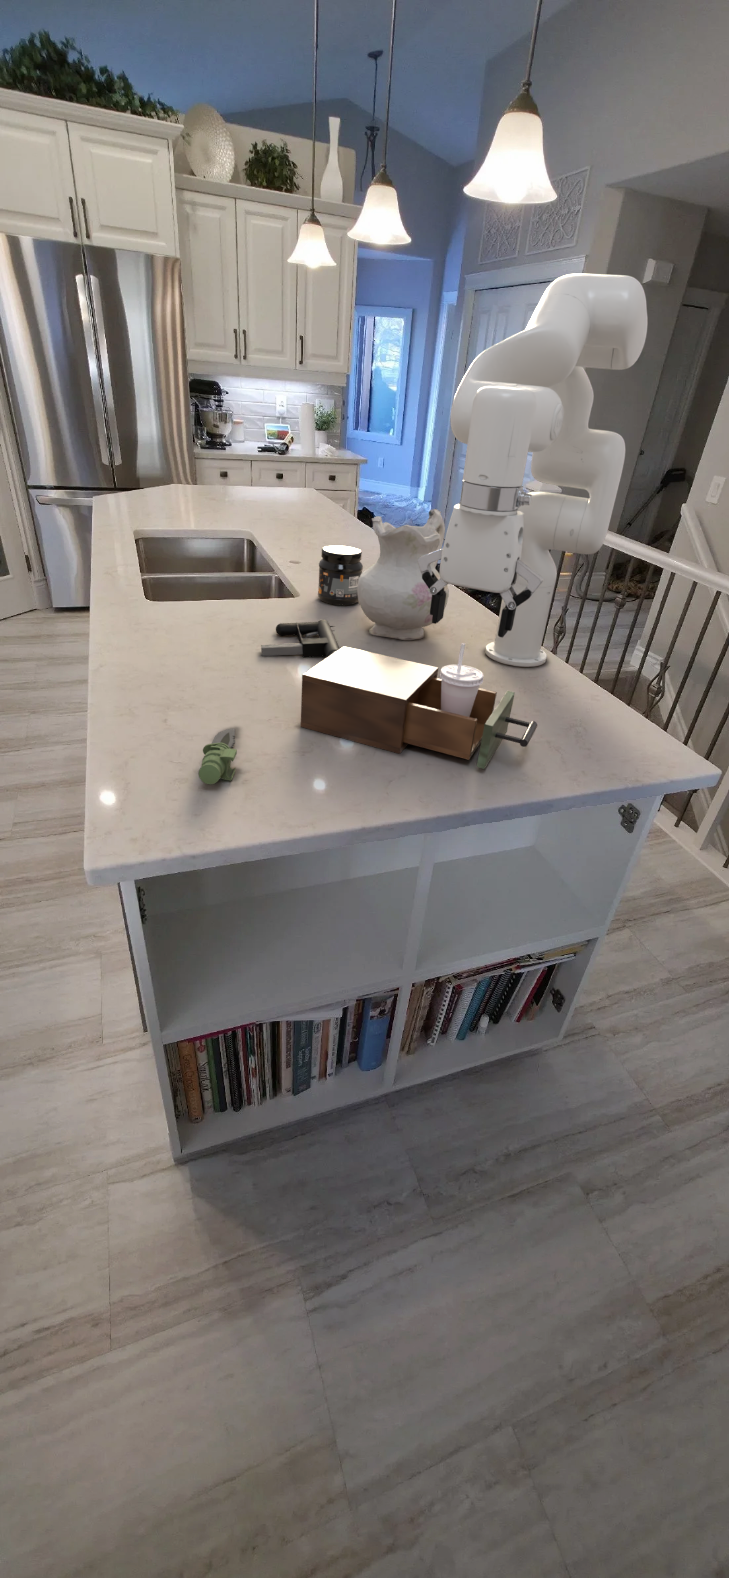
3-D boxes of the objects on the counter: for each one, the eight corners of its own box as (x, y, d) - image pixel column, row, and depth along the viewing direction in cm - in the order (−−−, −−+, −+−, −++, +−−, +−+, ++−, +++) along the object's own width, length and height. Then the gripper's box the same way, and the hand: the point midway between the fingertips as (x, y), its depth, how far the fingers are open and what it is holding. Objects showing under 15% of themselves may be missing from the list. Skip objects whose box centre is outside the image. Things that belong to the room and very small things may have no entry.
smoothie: (428, 721, 106) (441, 635, 99) (468, 722, 107) (483, 637, 100) (435, 740, 101) (449, 650, 94) (477, 741, 102) (494, 652, 95)
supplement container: (323, 591, 171) (325, 542, 164) (364, 597, 169) (367, 547, 163) (312, 603, 162) (314, 551, 156) (355, 609, 161) (359, 557, 154)
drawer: (536, 739, 106) (545, 699, 103) (517, 778, 96) (527, 734, 92) (415, 709, 113) (420, 670, 109) (384, 742, 102) (388, 700, 98)
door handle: (263, 655, 124) (349, 650, 127) (257, 620, 141) (333, 617, 144) (264, 672, 126) (349, 667, 129) (258, 635, 143) (333, 632, 145)
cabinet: (431, 717, 113) (438, 667, 108) (399, 754, 101) (406, 700, 96) (340, 694, 118) (343, 646, 113) (300, 726, 106) (301, 674, 102)
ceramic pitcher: (384, 615, 162) (386, 503, 149) (462, 625, 154) (471, 508, 142) (342, 640, 145) (340, 516, 133) (426, 653, 138) (433, 523, 125)
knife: (190, 758, 86) (229, 763, 86) (217, 714, 103) (250, 719, 103) (188, 786, 87) (227, 791, 88) (215, 738, 104) (248, 742, 105)
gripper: (562, 503, 87) (535, 632, 96) (435, 485, 92) (421, 609, 101) (551, 512, 81) (523, 648, 90) (416, 492, 86) (403, 623, 96)
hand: (469, 627), depth 96 cm, fingers open, 9 cm apart
